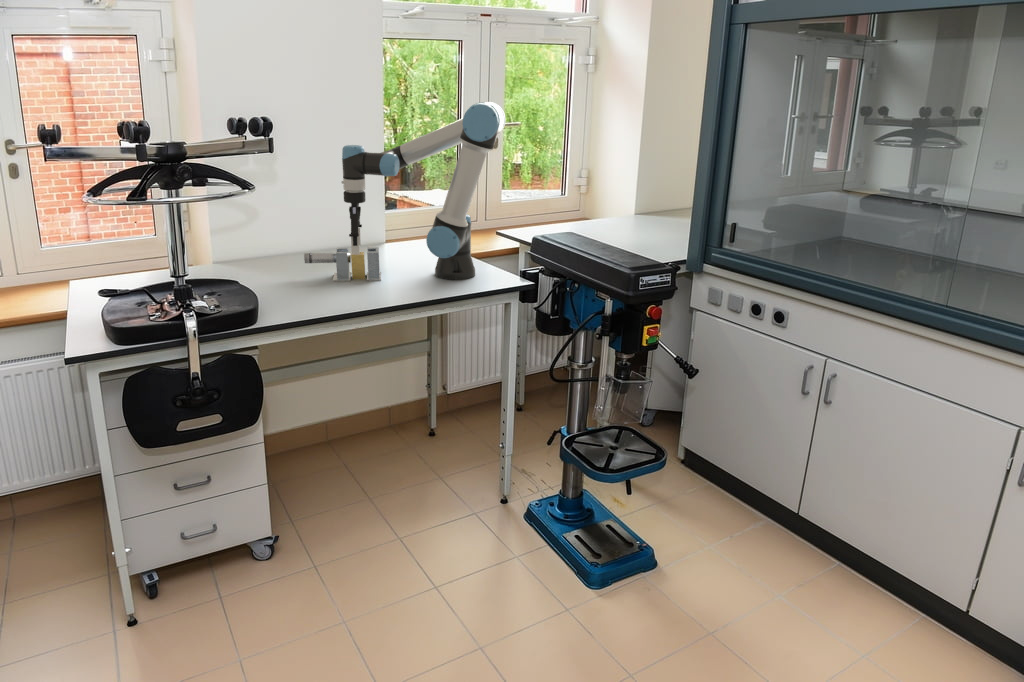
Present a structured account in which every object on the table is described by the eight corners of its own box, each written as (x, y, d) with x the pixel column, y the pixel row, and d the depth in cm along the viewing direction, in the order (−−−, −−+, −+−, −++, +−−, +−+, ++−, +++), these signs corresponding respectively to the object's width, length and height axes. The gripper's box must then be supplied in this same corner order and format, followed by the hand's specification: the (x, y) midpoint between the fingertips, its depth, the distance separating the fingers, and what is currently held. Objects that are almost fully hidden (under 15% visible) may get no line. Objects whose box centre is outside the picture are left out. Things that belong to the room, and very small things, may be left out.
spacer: (365, 275, 272) (364, 252, 269) (365, 279, 268) (363, 254, 265) (352, 276, 272) (351, 252, 269) (352, 279, 268) (351, 255, 264)
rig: (381, 273, 276) (380, 246, 272) (381, 280, 267) (379, 253, 263) (334, 274, 273) (332, 247, 270) (332, 281, 264) (331, 253, 260)
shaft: (350, 261, 269) (350, 251, 268) (350, 263, 266) (349, 253, 265) (305, 262, 267) (305, 252, 265) (304, 264, 263) (303, 254, 262)
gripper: (345, 185, 270) (347, 241, 277) (341, 196, 247) (343, 258, 254) (365, 185, 271) (367, 241, 279) (364, 196, 248) (366, 258, 256)
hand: (356, 249), depth 266 cm, fingers open, 13 cm apart
